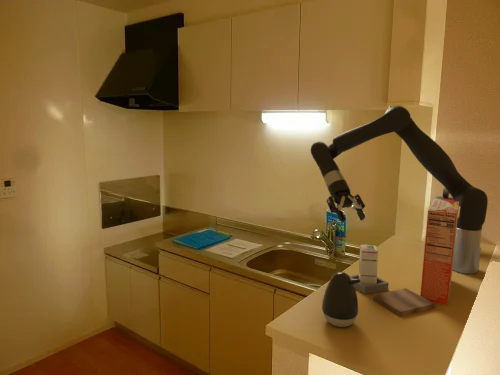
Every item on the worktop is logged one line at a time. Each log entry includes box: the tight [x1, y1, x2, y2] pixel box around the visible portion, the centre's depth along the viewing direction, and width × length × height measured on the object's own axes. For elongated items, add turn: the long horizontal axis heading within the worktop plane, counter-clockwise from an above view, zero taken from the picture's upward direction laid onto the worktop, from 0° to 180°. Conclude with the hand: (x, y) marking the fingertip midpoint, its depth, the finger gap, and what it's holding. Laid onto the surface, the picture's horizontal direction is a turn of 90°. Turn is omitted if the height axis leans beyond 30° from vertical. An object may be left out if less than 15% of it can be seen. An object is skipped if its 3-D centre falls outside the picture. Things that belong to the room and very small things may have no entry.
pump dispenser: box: [321, 271, 360, 328], centre depth 109 cm, size 10×10×15 cm
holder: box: [349, 273, 389, 295], centre depth 134 cm, size 10×10×2 cm
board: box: [372, 287, 436, 317], centre depth 122 cm, size 14×12×2 cm
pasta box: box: [419, 197, 460, 306], centre depth 130 cm, size 23×8×30 cm, turn 150°
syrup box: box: [358, 244, 379, 286], centre depth 133 cm, size 6×6×14 cm
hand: (353, 220), depth 139 cm, fingers open, 8 cm apart
